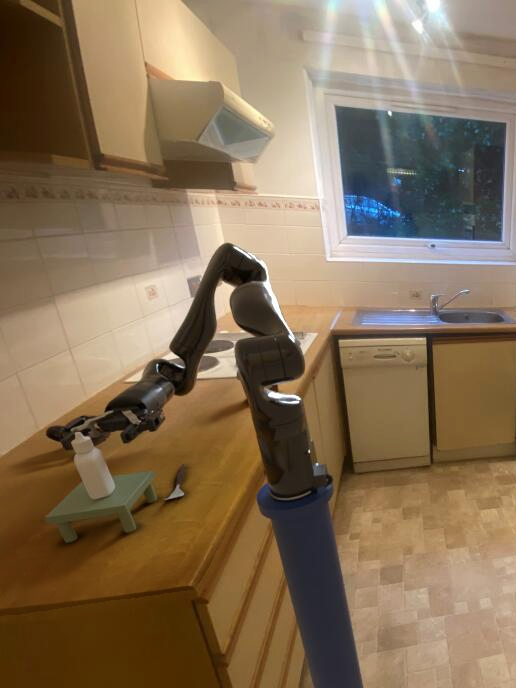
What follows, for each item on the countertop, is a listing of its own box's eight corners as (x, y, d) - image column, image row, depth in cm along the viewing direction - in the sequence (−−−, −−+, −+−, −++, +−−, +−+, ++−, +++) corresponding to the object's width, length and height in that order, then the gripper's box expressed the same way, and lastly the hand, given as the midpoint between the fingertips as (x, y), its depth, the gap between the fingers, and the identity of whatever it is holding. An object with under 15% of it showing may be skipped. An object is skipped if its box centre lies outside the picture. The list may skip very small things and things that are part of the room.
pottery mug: (120, 432, 111) (116, 411, 106) (111, 463, 105) (106, 443, 100) (55, 431, 104) (47, 409, 99) (41, 464, 99) (32, 443, 94)
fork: (191, 464, 97) (188, 456, 96) (182, 504, 84) (179, 495, 83) (177, 467, 96) (174, 459, 95) (165, 508, 83) (162, 499, 82)
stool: (162, 495, 86) (152, 470, 84) (135, 533, 76) (124, 505, 74) (94, 505, 83) (83, 479, 81) (58, 545, 74) (44, 517, 71)
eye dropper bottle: (77, 502, 75) (49, 442, 70) (100, 483, 80) (76, 425, 75) (105, 500, 75) (79, 440, 71) (126, 481, 80) (104, 424, 76)
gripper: (90, 392, 88) (36, 429, 74) (172, 385, 92) (136, 418, 78) (103, 425, 91) (54, 466, 77) (182, 416, 95) (149, 454, 80)
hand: (95, 442), depth 77 cm, fingers open, 8 cm apart
